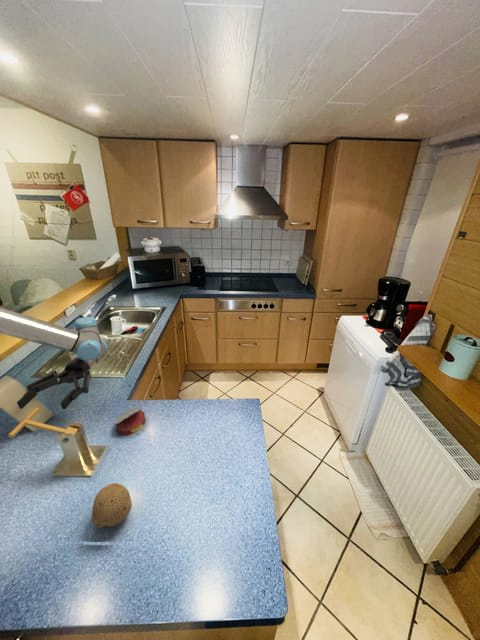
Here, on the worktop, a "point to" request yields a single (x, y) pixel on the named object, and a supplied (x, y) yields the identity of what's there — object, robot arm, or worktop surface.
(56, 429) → the lever
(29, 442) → the worktop surface
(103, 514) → the natural sponge
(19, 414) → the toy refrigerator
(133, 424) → the canned food
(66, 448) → the bracket
